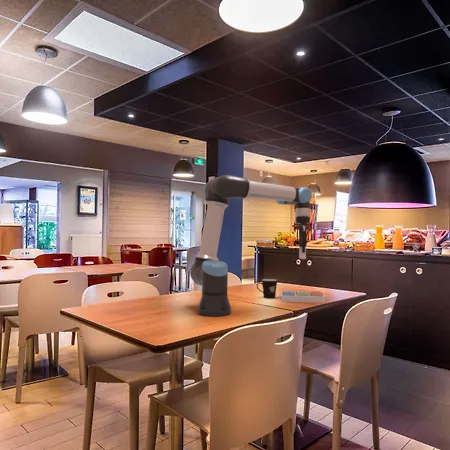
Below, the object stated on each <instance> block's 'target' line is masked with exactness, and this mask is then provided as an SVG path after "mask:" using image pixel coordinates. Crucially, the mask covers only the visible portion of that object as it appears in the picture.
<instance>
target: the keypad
mask: <svg viewBox="0 0 450 450" xmlns="http://www.w3.org/2000/svg"><path fill="white" fill-rule="evenodd" d="M279 294H280V296H279V298H280V301H281V303H315V302H317V303H319V302H325V303H326V296H325V295H324V294H323V296H310V293H309V296H297V295H296V293H295V296H283V295H282V292H281V293H279ZM317 303H316V304H317ZM319 304H320V303H319Z"/></svg>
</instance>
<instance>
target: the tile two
mask: <svg viewBox="0 0 450 450" xmlns="http://www.w3.org/2000/svg"><path fill="white" fill-rule="evenodd" d="M295 292H296V295H297V296H309V294H310V291H308V290H295Z"/></svg>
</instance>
